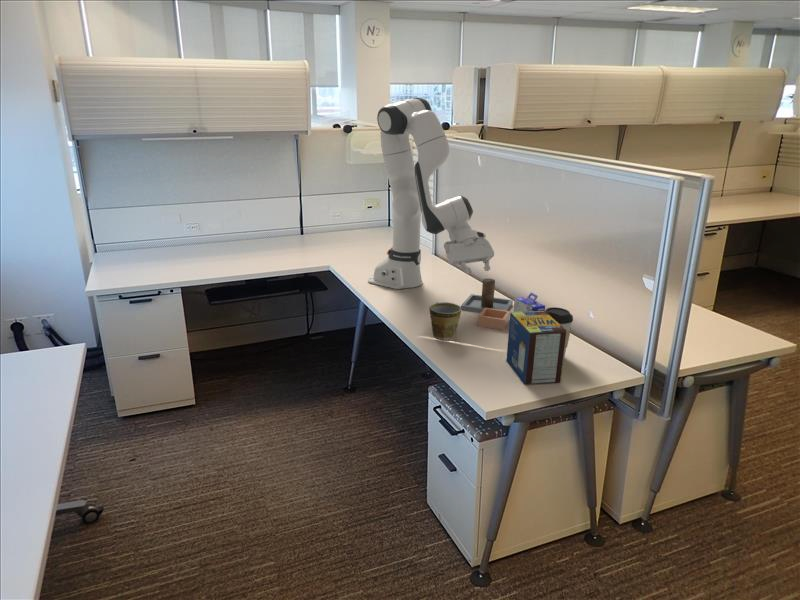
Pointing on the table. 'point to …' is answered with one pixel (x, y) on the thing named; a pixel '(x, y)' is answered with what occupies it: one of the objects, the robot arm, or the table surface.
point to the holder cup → (494, 318)
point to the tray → (475, 305)
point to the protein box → (535, 347)
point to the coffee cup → (562, 321)
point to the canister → (488, 293)
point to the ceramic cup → (444, 320)
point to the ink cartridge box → (527, 304)
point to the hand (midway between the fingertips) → (478, 271)
